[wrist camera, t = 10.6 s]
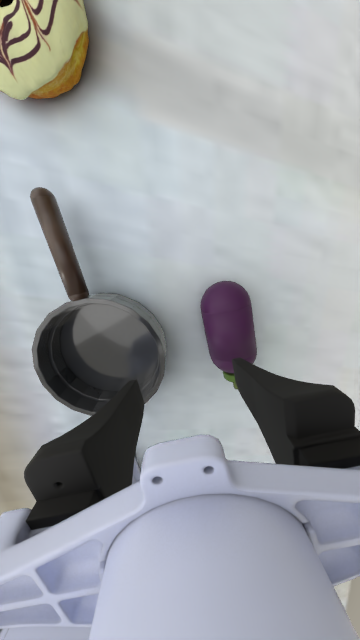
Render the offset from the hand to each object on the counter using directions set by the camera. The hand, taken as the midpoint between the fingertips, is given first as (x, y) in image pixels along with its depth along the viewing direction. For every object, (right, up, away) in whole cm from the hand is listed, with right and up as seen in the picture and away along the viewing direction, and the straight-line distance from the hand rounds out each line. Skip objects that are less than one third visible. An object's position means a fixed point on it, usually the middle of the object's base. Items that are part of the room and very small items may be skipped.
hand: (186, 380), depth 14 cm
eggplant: (+4, +3, +9) cm, 10 cm away
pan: (-9, +1, +9) cm, 13 cm away
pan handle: (-11, +11, +4) cm, 16 cm away
